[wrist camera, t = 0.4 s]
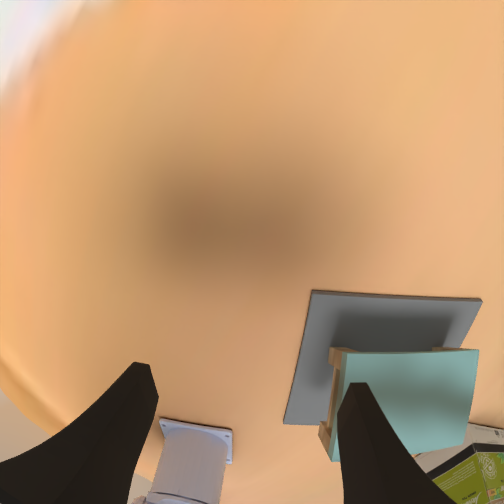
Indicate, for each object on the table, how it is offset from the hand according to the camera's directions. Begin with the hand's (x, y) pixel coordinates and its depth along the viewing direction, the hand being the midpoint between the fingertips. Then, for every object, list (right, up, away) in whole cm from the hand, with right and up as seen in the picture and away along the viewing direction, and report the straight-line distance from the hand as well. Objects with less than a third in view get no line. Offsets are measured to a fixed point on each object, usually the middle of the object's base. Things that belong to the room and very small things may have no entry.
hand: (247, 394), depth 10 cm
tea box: (+32, -23, +20) cm, 44 cm away
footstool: (+10, -6, +10) cm, 16 cm away
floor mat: (+11, -5, +13) cm, 17 cm away
